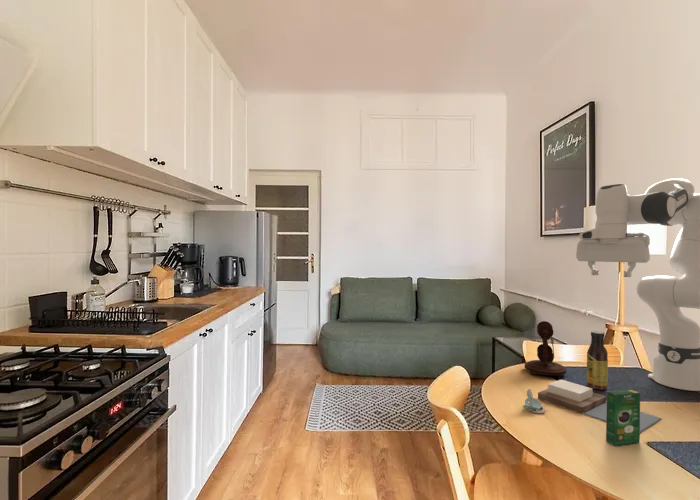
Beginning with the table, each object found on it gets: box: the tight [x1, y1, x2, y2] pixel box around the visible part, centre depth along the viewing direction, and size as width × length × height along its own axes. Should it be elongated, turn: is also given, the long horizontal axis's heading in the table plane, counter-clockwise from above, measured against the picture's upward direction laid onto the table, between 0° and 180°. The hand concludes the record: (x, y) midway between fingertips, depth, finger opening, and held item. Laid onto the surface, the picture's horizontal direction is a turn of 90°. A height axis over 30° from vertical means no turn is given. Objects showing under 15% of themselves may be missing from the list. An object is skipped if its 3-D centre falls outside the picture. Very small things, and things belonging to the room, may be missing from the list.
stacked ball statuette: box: [524, 320, 567, 379], centre depth 152 cm, size 15×15×20 cm
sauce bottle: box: [586, 330, 609, 391], centre depth 136 cm, size 7×6×20 cm
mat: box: [583, 401, 662, 433], centre depth 112 cm, size 15×14×1 cm
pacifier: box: [522, 388, 546, 415], centre depth 117 cm, size 7×6×6 cm
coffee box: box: [605, 388, 641, 447], centre depth 98 cm, size 8×3×13 cm, turn 103°
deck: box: [537, 388, 607, 415], centre depth 124 cm, size 15×14×2 cm
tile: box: [547, 379, 594, 402], centre depth 125 cm, size 8×10×2 cm
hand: (610, 276), depth 125 cm, fingers open, 8 cm apart
